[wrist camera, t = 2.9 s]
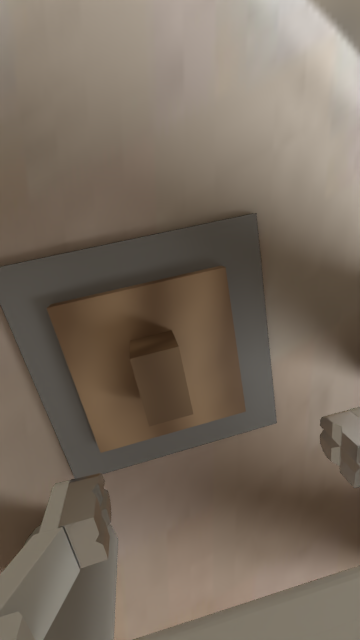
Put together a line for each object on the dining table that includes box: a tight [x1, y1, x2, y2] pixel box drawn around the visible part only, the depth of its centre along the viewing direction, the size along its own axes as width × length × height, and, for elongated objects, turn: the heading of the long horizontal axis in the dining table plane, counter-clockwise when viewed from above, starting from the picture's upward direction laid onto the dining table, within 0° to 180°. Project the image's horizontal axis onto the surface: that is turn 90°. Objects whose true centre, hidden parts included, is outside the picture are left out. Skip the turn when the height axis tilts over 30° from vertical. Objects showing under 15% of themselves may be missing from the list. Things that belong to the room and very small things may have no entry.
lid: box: [47, 266, 246, 453], centre depth 19 cm, size 12×12×4 cm
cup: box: [24, 524, 118, 640], centre depth 21 cm, size 8×8×10 cm
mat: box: [0, 213, 277, 479], centre depth 21 cm, size 18×18×1 cm
